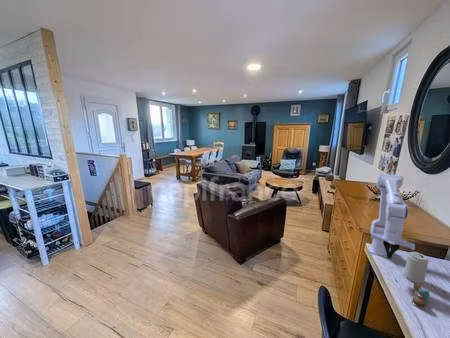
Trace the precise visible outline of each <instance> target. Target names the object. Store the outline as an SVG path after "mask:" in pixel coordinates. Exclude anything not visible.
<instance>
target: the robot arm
mask: <svg viewBox="0 0 450 338" xmlns="http://www.w3.org/2000/svg"><path fill="white" fill-rule="evenodd" d="M403 183H404V177H403V176H402V175H401V174H398V175H397V174H385V173H378V174H377V176H376V189H378V190H379V191H380V200H379V210H378V211H379V212H378V218H377V219H374V220H372V222H371V226H370V239H372V242H371V244H370V250H369V252H370V253H371V254H374V255H377V256H381V257H383V258H386V259H389V260H391V259H392V257H393V255H394V254H395V253H396V252H397V251H399V250H400V246H401V247H404V248H407V249H410V250H412V251H414V250H415V248H416V245H415V243H412V242H409V241H406V240H404V239H402V235H403V230H404V223H405V220H406V219H408V216H409V207H408V205H407V204H406V203H405V202H404V198H403V195H402V193H400V192H399V190H400V188H401V187H402V186H403Z"/></svg>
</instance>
